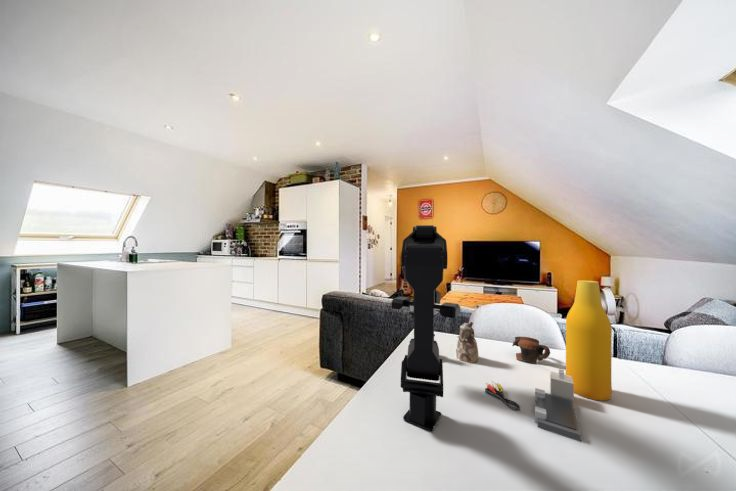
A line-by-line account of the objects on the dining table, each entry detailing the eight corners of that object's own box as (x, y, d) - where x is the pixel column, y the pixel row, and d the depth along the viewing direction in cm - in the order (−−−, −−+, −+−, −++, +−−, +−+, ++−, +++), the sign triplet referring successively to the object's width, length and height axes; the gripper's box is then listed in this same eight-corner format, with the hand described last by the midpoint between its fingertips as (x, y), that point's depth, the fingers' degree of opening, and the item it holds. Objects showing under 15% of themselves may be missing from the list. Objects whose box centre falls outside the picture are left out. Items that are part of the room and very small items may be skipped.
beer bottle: (562, 378, 74) (563, 278, 74) (605, 388, 69) (606, 280, 69) (568, 394, 66) (568, 281, 66) (617, 406, 61) (617, 284, 61)
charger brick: (573, 404, 61) (573, 377, 61) (550, 398, 64) (551, 371, 64) (571, 396, 65) (571, 369, 65) (550, 390, 67) (550, 365, 67)
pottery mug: (506, 358, 88) (506, 334, 92) (521, 366, 92) (521, 342, 95) (544, 362, 78) (543, 335, 82) (559, 370, 82) (557, 344, 86)
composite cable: (523, 412, 59) (523, 401, 59) (503, 413, 58) (504, 402, 58) (497, 388, 69) (497, 379, 69) (480, 389, 68) (480, 380, 68)
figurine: (451, 355, 89) (451, 321, 89) (466, 352, 92) (466, 319, 92) (467, 364, 82) (467, 327, 82) (483, 360, 85) (483, 324, 85)
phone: (581, 441, 49) (581, 429, 49) (534, 426, 54) (534, 414, 54) (572, 405, 61) (572, 394, 61) (535, 394, 65) (535, 385, 65)
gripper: (465, 281, 74) (464, 335, 74) (406, 276, 84) (405, 324, 84) (455, 285, 65) (454, 347, 65) (390, 280, 75) (389, 333, 75)
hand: (423, 336), depth 72 cm, fingers closed
